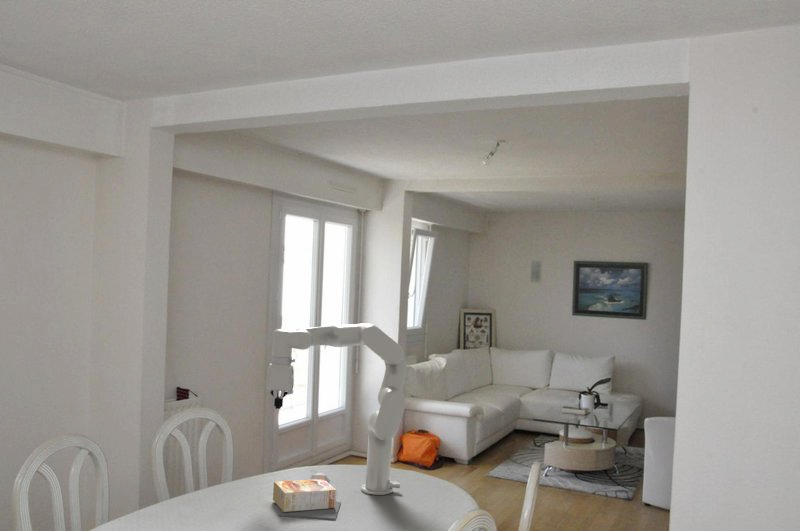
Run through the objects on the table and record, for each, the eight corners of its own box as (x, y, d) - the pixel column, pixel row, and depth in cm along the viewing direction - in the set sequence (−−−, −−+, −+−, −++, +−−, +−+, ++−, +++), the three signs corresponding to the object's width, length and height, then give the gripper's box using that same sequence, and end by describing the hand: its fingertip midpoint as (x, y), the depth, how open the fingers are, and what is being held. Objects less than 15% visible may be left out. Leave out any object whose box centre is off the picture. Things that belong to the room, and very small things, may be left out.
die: (320, 504, 272) (334, 487, 270) (301, 494, 270) (315, 476, 268) (321, 491, 280) (335, 474, 277) (303, 480, 278) (317, 463, 275)
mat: (340, 503, 264) (340, 501, 264) (335, 520, 246) (335, 518, 246) (287, 499, 264) (287, 498, 264) (278, 516, 246) (278, 514, 246)
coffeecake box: (273, 480, 261) (323, 478, 270) (272, 500, 261) (322, 496, 269) (285, 492, 248) (337, 489, 256) (283, 512, 248) (335, 508, 256)
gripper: (302, 361, 278) (298, 407, 278) (264, 358, 278) (261, 405, 278) (298, 363, 270) (295, 411, 270) (260, 361, 271) (256, 408, 270)
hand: (278, 408), depth 274 cm, fingers closed
